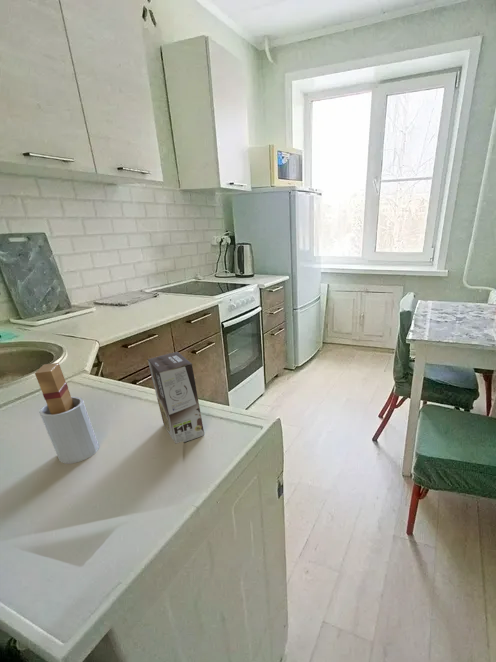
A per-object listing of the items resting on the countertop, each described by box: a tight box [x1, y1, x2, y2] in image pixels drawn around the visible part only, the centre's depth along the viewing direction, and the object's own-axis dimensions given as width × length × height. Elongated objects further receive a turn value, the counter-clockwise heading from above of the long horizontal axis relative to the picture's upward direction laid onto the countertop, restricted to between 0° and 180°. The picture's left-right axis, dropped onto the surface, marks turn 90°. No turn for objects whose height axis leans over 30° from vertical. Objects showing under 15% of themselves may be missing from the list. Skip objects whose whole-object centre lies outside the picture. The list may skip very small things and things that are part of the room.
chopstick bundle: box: [34, 362, 75, 415], centre depth 65 cm, size 3×4×18 cm, turn 13°
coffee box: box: [147, 351, 205, 444], centre depth 72 cm, size 9×6×16 cm
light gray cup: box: [38, 396, 100, 465], centre depth 67 cm, size 7×7×11 cm
